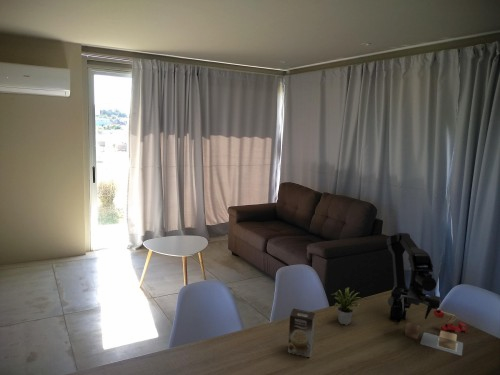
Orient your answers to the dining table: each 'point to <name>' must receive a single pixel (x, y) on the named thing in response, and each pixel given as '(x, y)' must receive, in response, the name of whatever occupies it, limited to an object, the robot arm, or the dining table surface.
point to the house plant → (346, 306)
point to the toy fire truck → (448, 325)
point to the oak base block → (447, 340)
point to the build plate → (434, 342)
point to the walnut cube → (412, 330)
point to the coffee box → (301, 332)
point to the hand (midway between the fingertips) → (413, 315)
